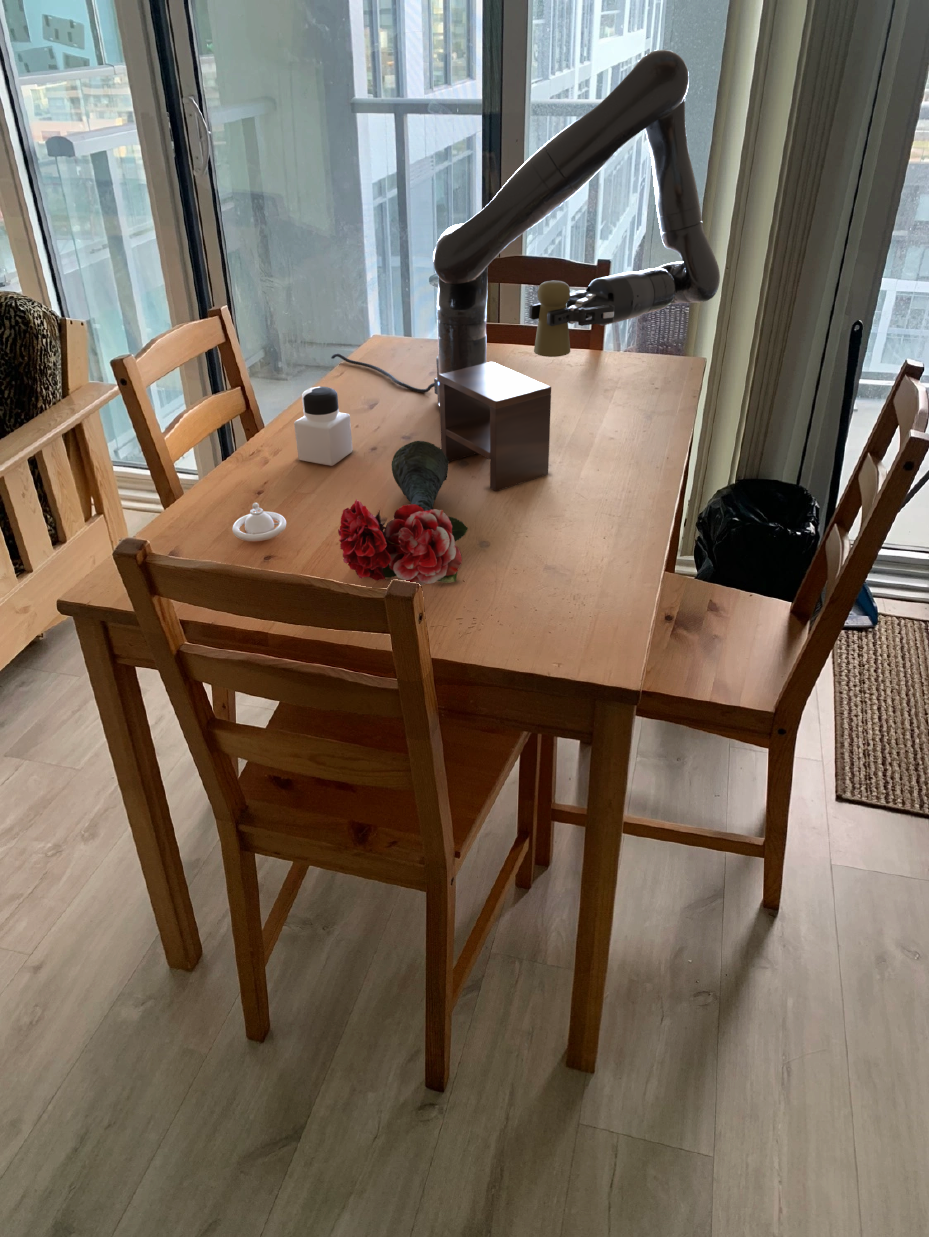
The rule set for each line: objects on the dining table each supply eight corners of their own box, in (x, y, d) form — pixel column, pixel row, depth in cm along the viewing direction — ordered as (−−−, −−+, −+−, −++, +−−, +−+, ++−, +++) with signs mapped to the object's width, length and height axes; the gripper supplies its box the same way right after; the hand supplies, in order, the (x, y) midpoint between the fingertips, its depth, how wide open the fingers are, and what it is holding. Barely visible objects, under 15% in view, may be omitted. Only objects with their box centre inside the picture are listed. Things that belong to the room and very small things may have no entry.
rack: (441, 459, 164) (438, 374, 155) (492, 444, 169) (492, 361, 160) (495, 491, 152) (496, 401, 144) (548, 474, 158) (551, 386, 149)
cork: (531, 346, 156) (532, 278, 150) (567, 344, 157) (569, 276, 151) (536, 357, 151) (537, 287, 145) (573, 356, 152) (576, 286, 146)
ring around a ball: (298, 536, 140) (269, 518, 145) (293, 502, 137) (263, 485, 142) (253, 556, 136) (224, 537, 141) (246, 521, 133) (217, 503, 138)
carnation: (414, 536, 156) (420, 646, 126) (323, 471, 149) (306, 571, 119) (474, 466, 151) (496, 563, 120) (383, 395, 144) (382, 480, 114)
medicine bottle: (353, 451, 167) (348, 386, 160) (332, 467, 162) (325, 400, 155) (319, 445, 170) (312, 381, 163) (297, 460, 164) (289, 394, 158)
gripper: (593, 266, 160) (512, 283, 152) (651, 283, 150) (569, 301, 142) (590, 311, 164) (512, 329, 156) (647, 330, 154) (567, 350, 146)
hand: (539, 316), depth 149 cm, fingers closed on cork, 4 cm apart
